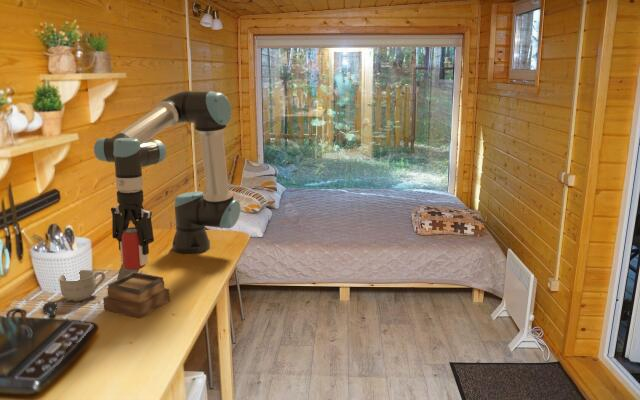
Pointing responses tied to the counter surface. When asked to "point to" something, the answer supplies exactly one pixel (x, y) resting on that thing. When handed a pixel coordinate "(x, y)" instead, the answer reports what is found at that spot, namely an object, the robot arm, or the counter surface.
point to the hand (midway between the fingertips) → (134, 262)
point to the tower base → (137, 307)
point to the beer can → (131, 249)
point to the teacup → (80, 285)
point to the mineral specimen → (125, 272)
